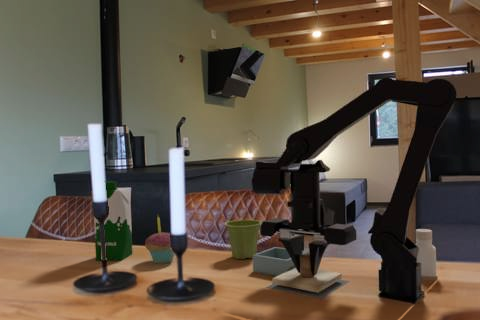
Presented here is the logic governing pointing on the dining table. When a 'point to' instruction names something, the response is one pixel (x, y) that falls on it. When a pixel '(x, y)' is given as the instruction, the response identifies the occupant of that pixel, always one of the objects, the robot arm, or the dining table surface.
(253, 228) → the plant pot
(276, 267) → the open box
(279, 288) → the mat
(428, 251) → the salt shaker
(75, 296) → the dining table surface
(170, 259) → the cupcake
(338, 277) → the lid
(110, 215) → the milk carton
